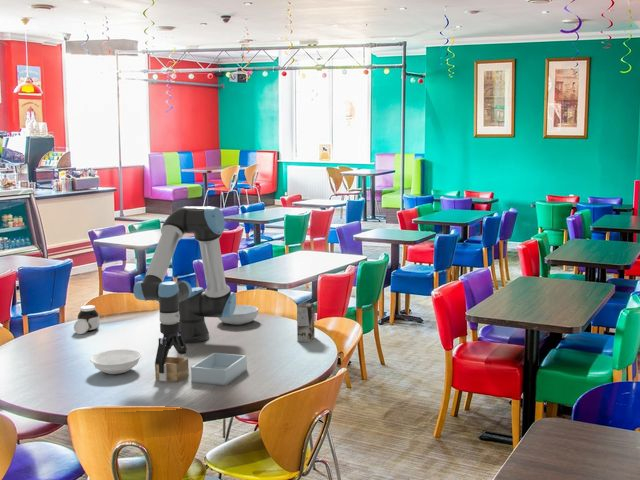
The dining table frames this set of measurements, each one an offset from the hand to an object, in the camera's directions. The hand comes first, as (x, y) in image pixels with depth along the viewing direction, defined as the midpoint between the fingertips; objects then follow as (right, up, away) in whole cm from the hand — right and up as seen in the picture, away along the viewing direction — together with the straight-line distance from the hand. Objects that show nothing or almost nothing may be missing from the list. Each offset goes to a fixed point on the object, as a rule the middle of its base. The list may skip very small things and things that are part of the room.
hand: (172, 375), depth 297 cm
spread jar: (-54, +8, +70) cm, 89 cm away
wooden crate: (0, -1, 0) cm, 1 cm away
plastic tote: (+18, 0, +1) cm, 18 cm away
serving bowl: (+17, +11, +82) cm, 85 cm away
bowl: (-24, 0, +8) cm, 25 cm away
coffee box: (+51, +7, +51) cm, 73 cm away
